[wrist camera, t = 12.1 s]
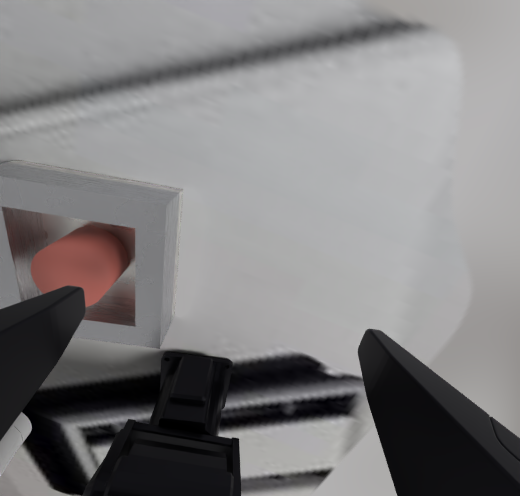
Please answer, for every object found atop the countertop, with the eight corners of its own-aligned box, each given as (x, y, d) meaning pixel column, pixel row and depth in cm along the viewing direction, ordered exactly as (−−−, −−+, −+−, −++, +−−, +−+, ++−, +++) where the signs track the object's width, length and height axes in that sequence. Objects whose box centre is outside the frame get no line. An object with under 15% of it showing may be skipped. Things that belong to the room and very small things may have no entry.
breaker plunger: (128, 285, 21) (106, 312, 18) (68, 276, 21) (36, 302, 18) (127, 231, 19) (103, 252, 16) (61, 221, 19) (25, 240, 16)
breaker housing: (174, 314, 24) (159, 348, 20) (41, 295, 23) (0, 328, 20) (183, 189, 20) (166, 205, 16) (18, 160, 19) (-40, 169, 15)
